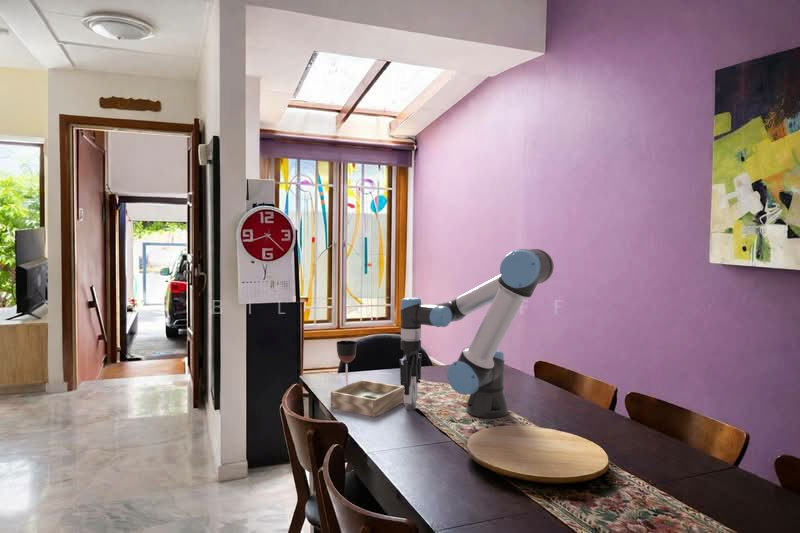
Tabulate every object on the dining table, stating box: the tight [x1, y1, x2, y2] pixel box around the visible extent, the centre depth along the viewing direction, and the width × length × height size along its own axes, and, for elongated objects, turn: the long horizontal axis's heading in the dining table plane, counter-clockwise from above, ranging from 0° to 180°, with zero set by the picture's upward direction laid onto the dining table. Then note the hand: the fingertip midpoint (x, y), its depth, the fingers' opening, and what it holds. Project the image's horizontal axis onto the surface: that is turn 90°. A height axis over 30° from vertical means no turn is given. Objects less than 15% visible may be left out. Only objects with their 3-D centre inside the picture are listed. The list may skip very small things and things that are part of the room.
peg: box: [404, 375, 417, 411], centre depth 197 cm, size 4×4×12 cm
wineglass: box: [336, 340, 358, 386], centre depth 221 cm, size 8×9×20 cm
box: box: [330, 379, 404, 418], centre depth 201 cm, size 20×20×6 cm
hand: (410, 401), depth 197 cm, fingers closed on peg, 4 cm apart
